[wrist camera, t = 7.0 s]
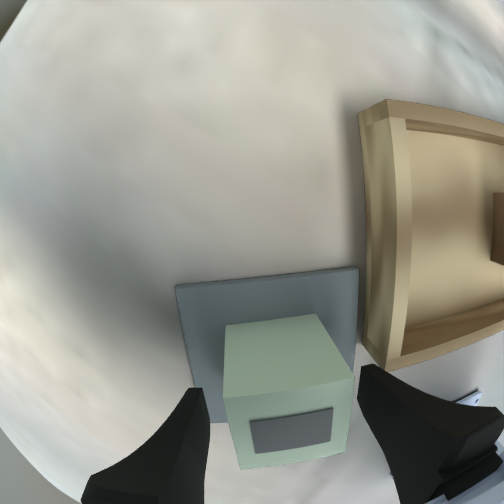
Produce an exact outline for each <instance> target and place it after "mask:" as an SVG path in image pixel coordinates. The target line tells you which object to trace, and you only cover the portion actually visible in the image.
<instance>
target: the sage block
mask: <svg viewBox="0 0 504 504" xmlns="http://www.w3.org/2000/svg"><path fill="white" fill-rule="evenodd" d="M354 381H355V376H354V375H353V373H352V371H351V370H350V368H349V367H348V365H347V363H346V362H345V360H344V358H343V357H342V355H341V353H340V352H339V350H338V349H337V347H336V345H335V344H334V342H333V340H332V339H331V337H330V336H329V334H328V332H327V331H326V329H325V328H324V326H323V324H322V323H321V321H320V320H319V318H318V316H317V315H316V313H315V314H309V315H302V316H295V317H288V318H281V319H274V320H266V321H259V322H250V323H242V324H233V325H226V329H225V352H224V378H223V401H224V405H225V410H226V414H227V418H228V422H229V427H230V431H231V435H232V439H233V443H234V447H235V450H236V454H237V458H238V462H239V466H240V469H252V468H261V467H270V466H277V465H284V464H291V463H297V462H302V461H307V460H313V459H317V458H322V457H327V456H331V455H335V454H339V453H343V452H345V446H346V441H347V435H348V428H349V421H350V414H351V407H352V399H353V390H354Z"/></svg>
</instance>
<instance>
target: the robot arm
mask: <svg viewBox="0 0 504 504" xmlns="http://www.w3.org/2000/svg"><path fill="white" fill-rule="evenodd" d="M481 395H482V392H481V391H477V392H475V393H473V394H471V395H469V396H467V397H466V398H463V399H461V400H459V401H457V402H451V401H447V400H444V399H440V398H438V397H435V396H432V395H429V394H427V393H425V392H422V391H420V390H418V389H416V388H414V387H412V386H410V385H408V384H407V383H405V382H403V381H401V380H399V379H398V378H396V377H394V376H393V375H391V374H390V373H388V372H386V371H385V370H383V369H381V368H380V367H378V366H376V365H375V364H369V365H365V366H361V373H360V381H359V388H358V395H357V400H358V403H359V406H360V408H361V411H362V413H363V416H364V418H365V420H366V421H367V423H368V425H369V427H370V429H371V430H372V432H373V434H374V436H375V437H376V439H377V441H378V443H379V445H380V446H381V448H382V450H383V452H384V454H385V457H386V460H387V462H388V465H389V467H390V470H391V473H392V476H391V477H392V479H394V482H395V485H396V489H397V492H398V496H399V500H400V504H504V447H503V446H502V445H501V444H500V442H499V441H498V440H497V439H498V438H499V436H500V434H501V433H502V431H503V429H504V415H503V414H502V413H501V412H500V411H499V410H498V409H497V408H496V407H482V406H477V405H478V402H479V400H480V398H481ZM209 441H210V416H209V412H208V409H207V404H206V400H205V396H204V392H203V388H202V387H201V388H188V389H187V391H186V392H185V394H184V396H183V397H182V399H181V400H180V402H179V403H178V405H177V406H176V408H175V409H174V410H173V412H172V413H171V414H170V416H169V417H168V418H167V420H166V421H165V422H164V423H163V424H162V426H161V427H160V428H159V429H158V430H157V431H156V432H155V433H154V434H153V435H152V436H151V437H150V438H149V439H148V440H147V441H146V442H145V443H144V444H143V445H142V446H140V447H139V448H138V449H137V450H136V451H134V452H133V453H132V454H130V455H129V456H127V457H126V458H124V459H123V460H121V461H120V462H118V463H116V464H114V465H113V466H111V467H109V468H107V469H104V470H102V471H100V472H98V473H96V474H93V475H91V476H90V478H89V480H88V482H87V485H86V487H85V490H84V492H83V495H82V498H81V502H82V504H204V479H205V470H206V463H207V456H208V449H209Z"/></svg>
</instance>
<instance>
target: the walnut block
mask: <svg viewBox="0 0 504 504" xmlns="http://www.w3.org/2000/svg"><path fill="white" fill-rule="evenodd" d="M490 261H492V262H495V263H498V264H500V265H503V266H504V193H493V230H492V246H491V257H490Z"/></svg>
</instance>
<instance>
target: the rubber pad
mask: <svg viewBox="0 0 504 504" xmlns="http://www.w3.org/2000/svg"><path fill="white" fill-rule="evenodd" d="M358 290H359V269H357V268H356V267H355V266H354V267H346V268H338V269H329V270H321V271H312V272H303V273H294V274H285V275H276V276H267V277H257V278H247V279H237V280H227V281H216V282H205V283H194V284H183V285H177V286H176V288H175V292H176V298H177V304H178V309H179V314H180V319H181V324H182V329H183V334H184V339H185V344H186V348H187V353H188V357H189V362H190V366H191V370H192V375H193V379H194V383H195V387H196V388H201V387H202V388H203V392H204V396H205V400H206V404H207V409H208V412H209V416H210V423H226V422H228V418H227V414H226V410H225V405H224V401H223V378H224V352H225V329H226V325H233V324H242V323H250V322H259V321H266V320H274V319H281V318H288V317H295V316H302V315H309V314H315V313H316V315H317V316H318V318H319V320H320V321H321V323H322V324H323V326H324V328H325V329H326V331H327V332H328V334H329V336H330V337H331V339H332V340H333V342H334V344H335V345H336V347H337V349H338V350H339V352H340V353H341V355H342V357H343V358H344V360H345V362H346V363H347V365H348V367H349V368H350V370H351V371H352V373H353V365H354V354H355V343H356V329H357V313H358Z"/></svg>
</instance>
